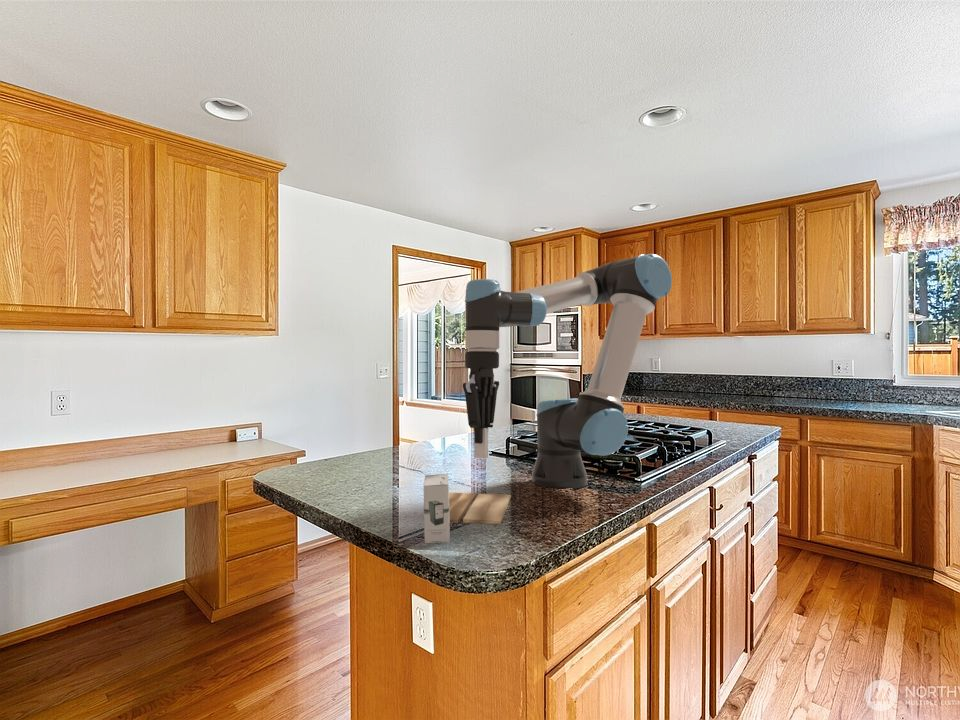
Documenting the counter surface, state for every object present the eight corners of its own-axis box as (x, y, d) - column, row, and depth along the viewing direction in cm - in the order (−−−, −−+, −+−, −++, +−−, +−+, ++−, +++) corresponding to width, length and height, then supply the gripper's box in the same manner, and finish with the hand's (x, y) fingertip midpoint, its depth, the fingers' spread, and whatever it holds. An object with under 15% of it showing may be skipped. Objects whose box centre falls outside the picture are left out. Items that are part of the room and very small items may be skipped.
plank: (510, 499, 123) (510, 494, 123) (500, 526, 104) (500, 520, 104) (478, 498, 124) (478, 493, 124) (463, 524, 106) (462, 518, 106)
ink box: (425, 530, 103) (424, 473, 103) (449, 529, 103) (448, 472, 103) (423, 547, 94) (422, 484, 94) (450, 545, 95) (449, 483, 95)
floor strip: (476, 498, 125) (476, 493, 125) (459, 526, 105) (459, 519, 105) (449, 497, 126) (449, 492, 126) (427, 524, 107) (427, 518, 107)
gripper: (481, 351, 118) (480, 451, 118) (452, 350, 107) (451, 460, 107) (510, 351, 115) (509, 454, 115) (483, 350, 103) (482, 464, 103)
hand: (481, 457), depth 111 cm, fingers closed
